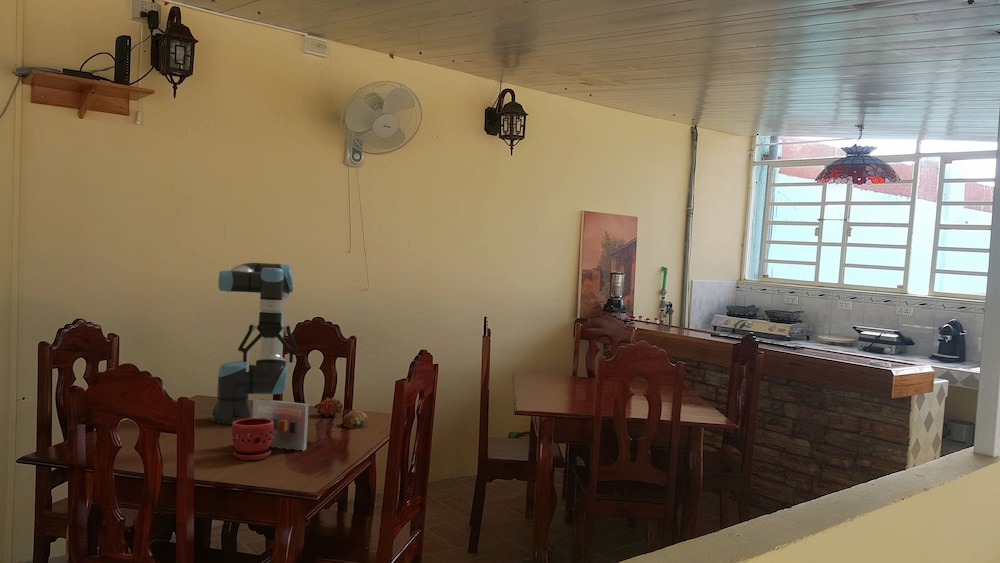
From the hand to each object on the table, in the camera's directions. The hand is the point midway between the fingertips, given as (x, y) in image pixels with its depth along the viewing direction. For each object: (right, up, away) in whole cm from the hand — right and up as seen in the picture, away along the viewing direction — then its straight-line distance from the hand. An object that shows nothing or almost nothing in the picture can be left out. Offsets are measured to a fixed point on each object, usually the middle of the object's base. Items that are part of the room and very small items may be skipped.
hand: (267, 371), depth 253 cm
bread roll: (+24, -27, +35) cm, 50 cm away
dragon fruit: (+9, -25, +50) cm, 57 cm away
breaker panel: (+5, -26, -2) cm, 27 cm away
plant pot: (0, -27, -16) cm, 31 cm away
